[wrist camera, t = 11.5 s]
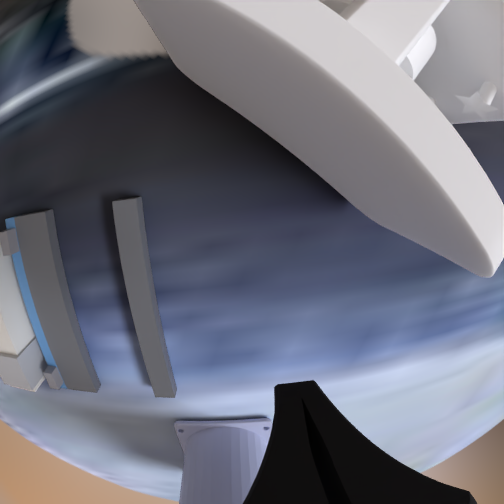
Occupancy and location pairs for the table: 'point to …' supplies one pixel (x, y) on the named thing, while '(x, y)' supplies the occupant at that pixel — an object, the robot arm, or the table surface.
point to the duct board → (60, 303)
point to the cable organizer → (363, 100)
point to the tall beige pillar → (17, 334)
